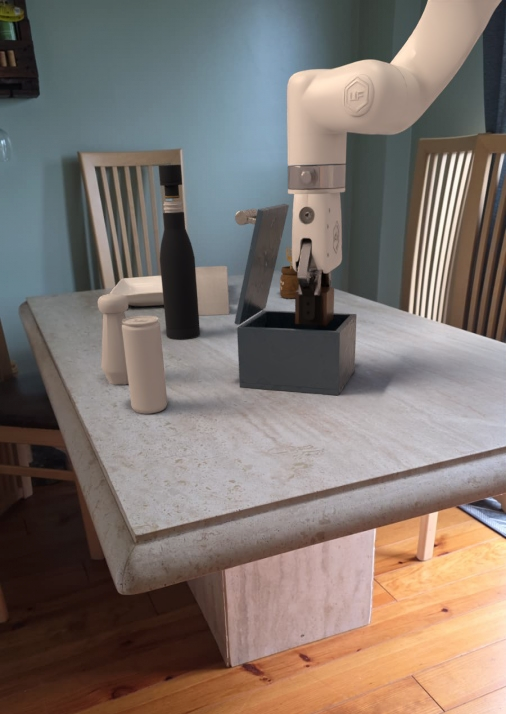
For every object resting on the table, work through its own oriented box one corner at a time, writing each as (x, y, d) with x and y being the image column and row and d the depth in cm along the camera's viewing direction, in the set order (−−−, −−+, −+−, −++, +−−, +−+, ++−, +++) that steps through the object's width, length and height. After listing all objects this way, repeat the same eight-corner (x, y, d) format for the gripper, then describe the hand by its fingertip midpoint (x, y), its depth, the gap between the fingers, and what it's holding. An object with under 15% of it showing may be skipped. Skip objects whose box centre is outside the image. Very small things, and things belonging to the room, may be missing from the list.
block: (333, 318, 90) (334, 286, 88) (326, 325, 86) (326, 292, 84) (303, 317, 91) (303, 286, 89) (295, 324, 87) (294, 291, 86)
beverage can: (167, 413, 82) (158, 323, 77) (130, 416, 81) (118, 325, 76) (168, 401, 86) (160, 314, 81) (133, 403, 86) (123, 316, 81)
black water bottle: (172, 341, 116) (156, 165, 104) (162, 334, 122) (146, 165, 109) (204, 336, 119) (193, 164, 106) (193, 329, 124) (181, 164, 112)
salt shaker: (142, 373, 98) (132, 290, 93) (142, 384, 93) (132, 296, 88) (104, 376, 97) (92, 292, 92) (102, 388, 92) (90, 299, 87)
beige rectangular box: (228, 314, 136) (226, 267, 132) (198, 315, 136) (194, 268, 132) (229, 310, 140) (227, 264, 135) (199, 312, 140) (196, 266, 135)
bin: (354, 371, 96) (356, 313, 92) (338, 395, 86) (339, 332, 82) (264, 364, 100) (263, 310, 97) (239, 387, 90) (236, 327, 87)
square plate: (226, 305, 145) (226, 288, 143) (108, 311, 143) (106, 294, 142) (223, 286, 169) (223, 271, 168) (123, 290, 168) (121, 276, 166)
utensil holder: (306, 294, 154) (306, 244, 149) (302, 299, 149) (302, 247, 144) (282, 294, 155) (282, 244, 150) (278, 299, 150) (277, 247, 145)
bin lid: (289, 204, 89) (258, 196, 90) (263, 210, 79) (229, 200, 80) (265, 308, 96) (237, 299, 97) (239, 325, 87) (208, 314, 87)
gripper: (329, 182, 73) (327, 336, 80) (357, 178, 87) (352, 309, 95) (268, 183, 75) (271, 333, 83) (305, 179, 89) (305, 307, 97)
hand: (315, 318), depth 88 cm, fingers closed on block, 4 cm apart
